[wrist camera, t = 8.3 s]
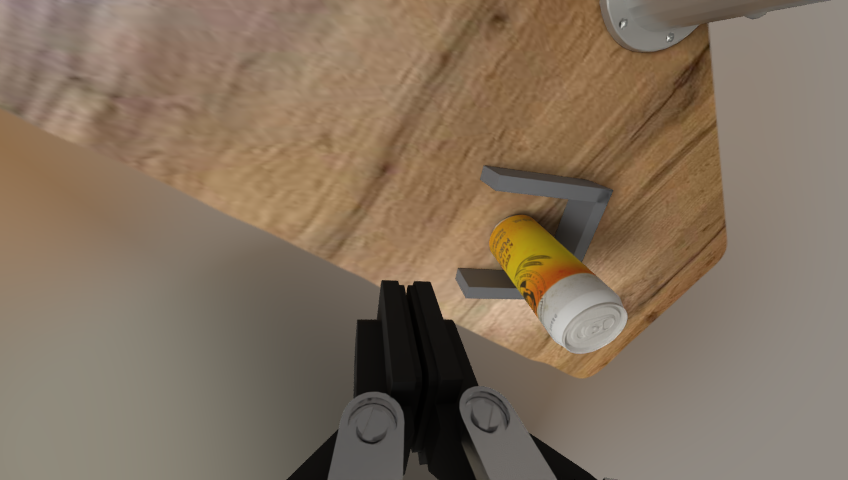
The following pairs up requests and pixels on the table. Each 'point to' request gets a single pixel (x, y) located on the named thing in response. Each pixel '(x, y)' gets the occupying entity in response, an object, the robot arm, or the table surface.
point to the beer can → (557, 286)
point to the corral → (571, 232)
